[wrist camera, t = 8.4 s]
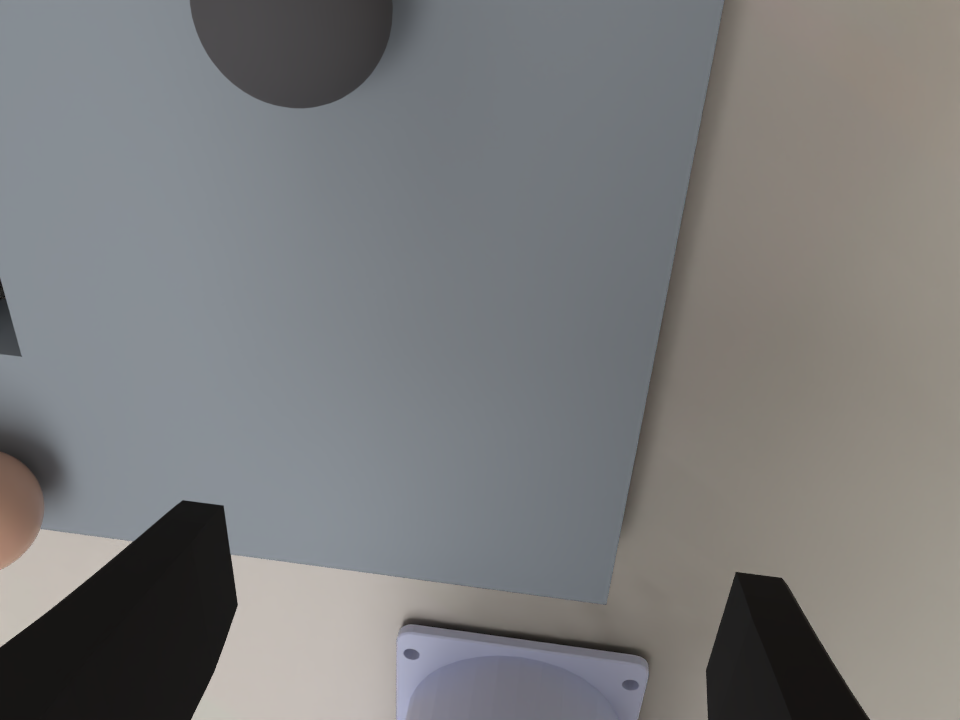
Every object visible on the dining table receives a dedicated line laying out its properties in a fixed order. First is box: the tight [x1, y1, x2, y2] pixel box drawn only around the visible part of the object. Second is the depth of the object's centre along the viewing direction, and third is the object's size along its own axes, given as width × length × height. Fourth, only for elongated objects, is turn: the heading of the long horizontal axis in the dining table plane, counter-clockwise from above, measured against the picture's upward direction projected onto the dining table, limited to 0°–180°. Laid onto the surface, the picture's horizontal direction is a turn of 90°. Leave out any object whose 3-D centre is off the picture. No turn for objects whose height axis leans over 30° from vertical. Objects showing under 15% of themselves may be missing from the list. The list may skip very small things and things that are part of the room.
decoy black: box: [190, 0, 393, 109], centre depth 14 cm, size 3×3×3 cm
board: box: [0, 0, 724, 605], centre depth 19 cm, size 16×22×4 cm
